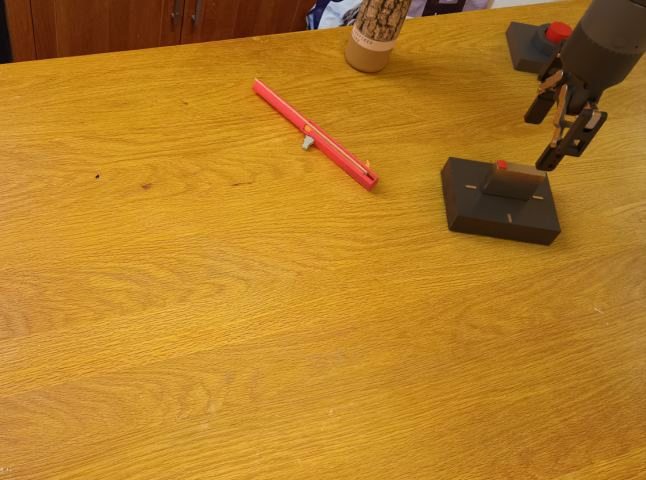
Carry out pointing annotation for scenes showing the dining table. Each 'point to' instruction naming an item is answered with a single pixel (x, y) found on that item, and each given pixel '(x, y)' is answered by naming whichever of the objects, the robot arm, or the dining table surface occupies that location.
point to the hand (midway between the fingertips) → (536, 144)
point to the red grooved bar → (319, 138)
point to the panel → (496, 206)
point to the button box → (529, 46)
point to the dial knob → (512, 180)
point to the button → (558, 32)
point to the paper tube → (375, 33)
